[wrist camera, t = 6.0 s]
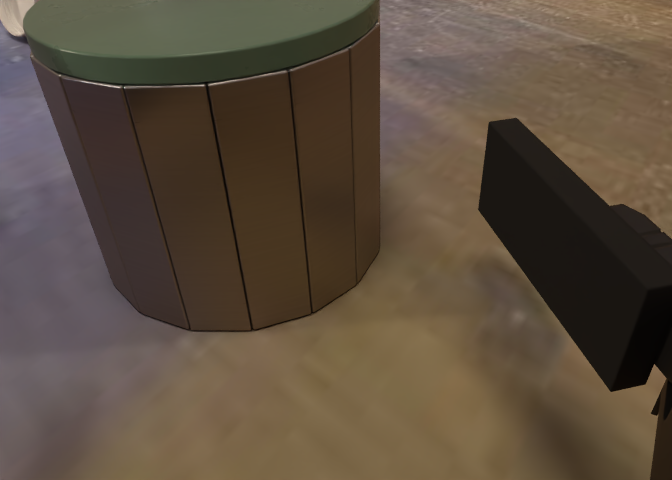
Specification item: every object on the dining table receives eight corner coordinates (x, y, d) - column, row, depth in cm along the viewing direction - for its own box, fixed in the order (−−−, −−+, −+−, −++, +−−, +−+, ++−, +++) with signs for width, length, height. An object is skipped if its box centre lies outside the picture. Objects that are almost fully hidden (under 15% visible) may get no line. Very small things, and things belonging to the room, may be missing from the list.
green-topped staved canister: (67, 235, 26) (-28, 0, 20) (272, 144, 32) (247, -59, 26) (206, 384, 19) (125, 94, 13) (435, 233, 25) (453, -16, 19)
